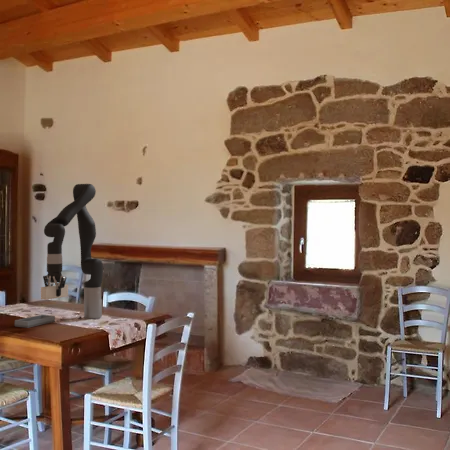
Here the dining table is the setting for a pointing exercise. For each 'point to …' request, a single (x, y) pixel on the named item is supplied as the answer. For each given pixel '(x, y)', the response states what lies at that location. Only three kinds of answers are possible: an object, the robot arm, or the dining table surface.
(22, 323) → the grey flat block
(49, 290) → the beige rectangular block
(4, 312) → the dining table surface
